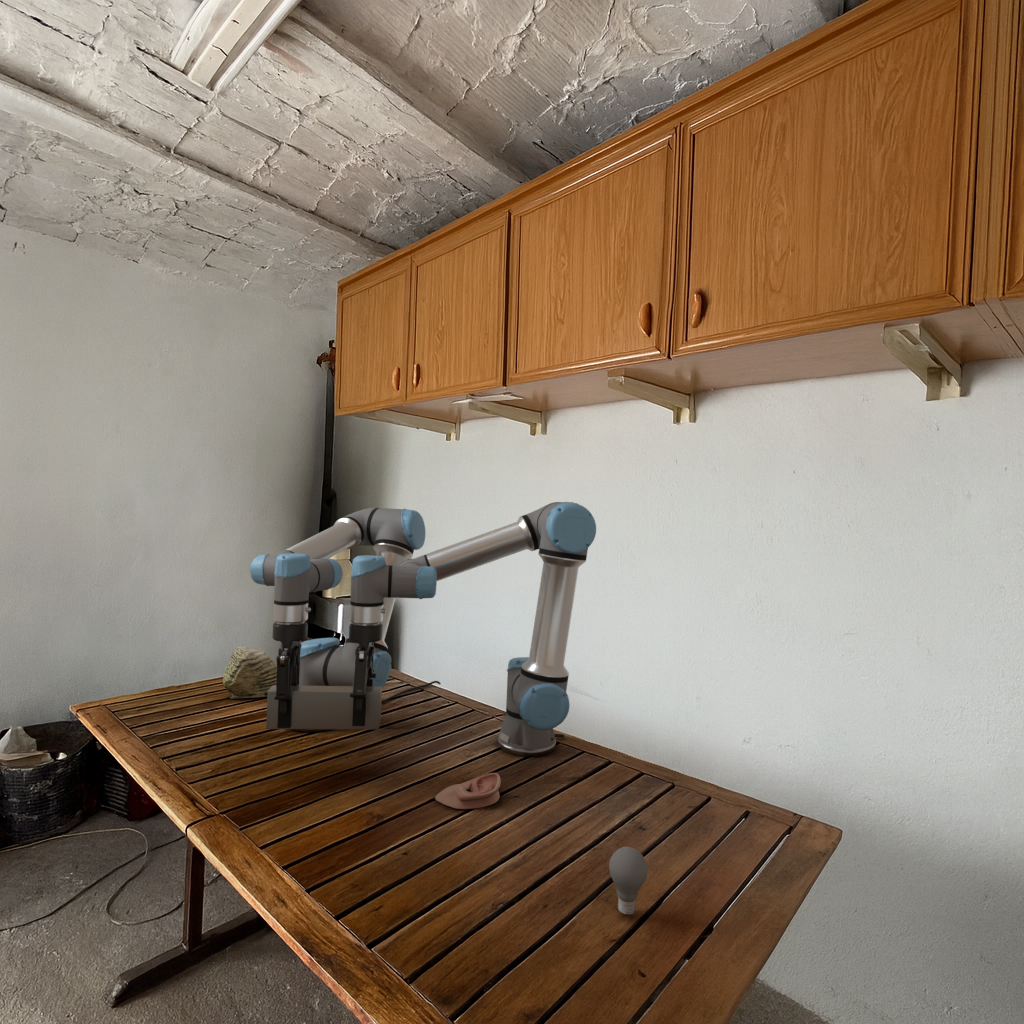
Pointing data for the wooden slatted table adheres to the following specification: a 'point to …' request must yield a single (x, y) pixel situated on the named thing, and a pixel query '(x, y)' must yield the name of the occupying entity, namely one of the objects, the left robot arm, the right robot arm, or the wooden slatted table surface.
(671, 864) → the wooden slatted table surface
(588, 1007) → the wooden slatted table surface
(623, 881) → the light bulb
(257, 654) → the fossil
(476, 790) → the anatomical model
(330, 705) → the bar
